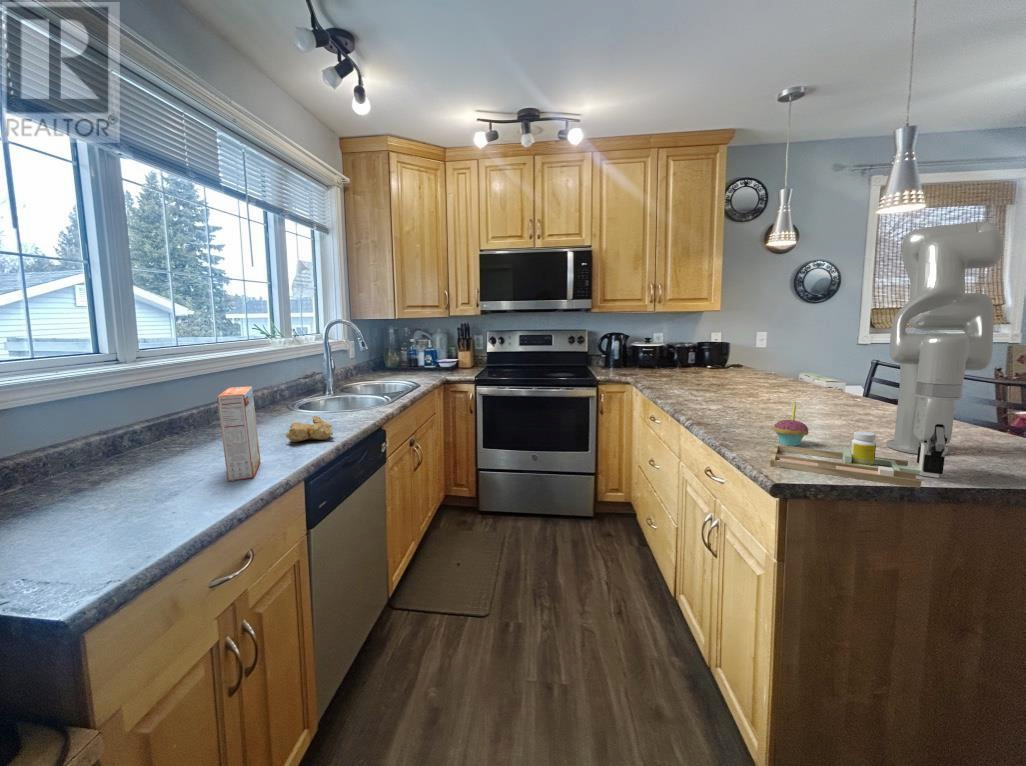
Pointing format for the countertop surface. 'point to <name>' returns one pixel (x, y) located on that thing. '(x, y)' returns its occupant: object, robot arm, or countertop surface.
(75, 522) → the countertop surface
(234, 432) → the cracker box
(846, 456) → the green handled square frame
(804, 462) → the broken strip
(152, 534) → the countertop surface
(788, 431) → the cupcake
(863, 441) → the supplement bottle
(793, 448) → the lane rails
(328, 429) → the ginger root
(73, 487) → the countertop surface
